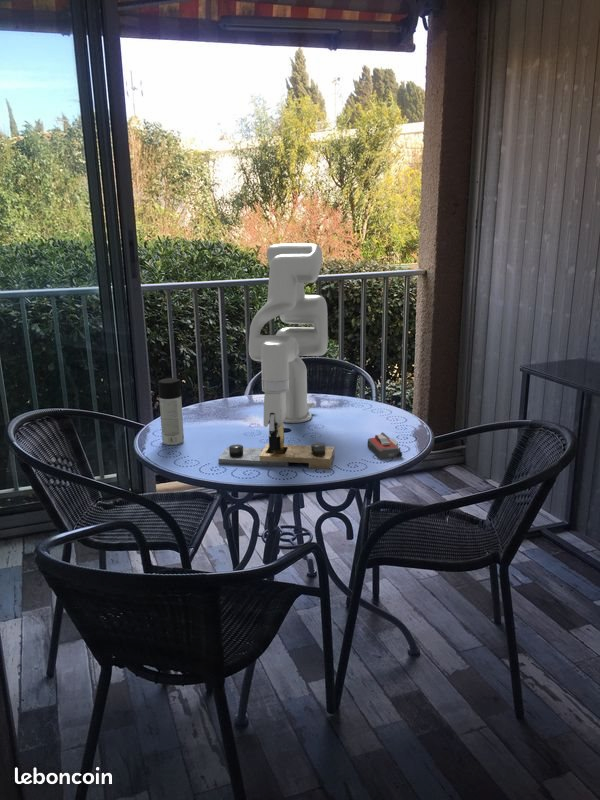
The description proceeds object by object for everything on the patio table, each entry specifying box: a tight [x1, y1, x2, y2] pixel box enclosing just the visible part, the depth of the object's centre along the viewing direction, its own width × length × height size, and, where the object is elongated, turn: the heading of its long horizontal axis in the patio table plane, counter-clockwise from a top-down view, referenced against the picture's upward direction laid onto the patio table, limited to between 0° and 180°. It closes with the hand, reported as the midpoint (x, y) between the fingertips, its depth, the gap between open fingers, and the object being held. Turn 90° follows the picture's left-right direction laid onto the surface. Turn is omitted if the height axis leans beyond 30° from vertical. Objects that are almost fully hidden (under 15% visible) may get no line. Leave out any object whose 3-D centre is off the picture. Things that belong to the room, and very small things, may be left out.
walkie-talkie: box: [366, 432, 403, 460], centre depth 200 cm, size 9×4×20 cm
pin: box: [270, 423, 285, 454], centre depth 190 cm, size 4×4×12 cm
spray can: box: [157, 377, 185, 446], centre depth 205 cm, size 7×7×20 cm
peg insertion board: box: [218, 442, 335, 470], centre depth 191 cm, size 10×32×5 cm, turn 81°
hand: (276, 445), depth 191 cm, fingers open, 4 cm apart
